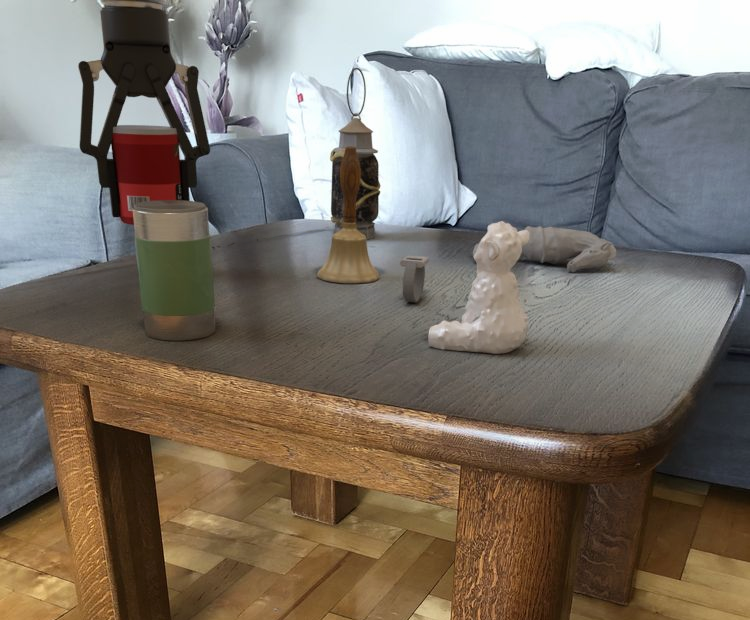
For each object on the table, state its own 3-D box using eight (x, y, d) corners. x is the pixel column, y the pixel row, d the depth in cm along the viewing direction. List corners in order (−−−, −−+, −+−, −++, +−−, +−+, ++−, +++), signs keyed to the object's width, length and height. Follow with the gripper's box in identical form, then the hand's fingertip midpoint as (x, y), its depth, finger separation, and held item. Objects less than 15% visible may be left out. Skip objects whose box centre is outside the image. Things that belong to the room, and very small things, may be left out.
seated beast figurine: (475, 328, 87) (485, 210, 82) (547, 344, 83) (562, 220, 77) (422, 346, 81) (429, 219, 75) (497, 365, 76) (510, 231, 71)
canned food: (193, 224, 103) (187, 128, 98) (131, 227, 99) (122, 128, 94) (170, 215, 109) (163, 125, 104) (110, 218, 105) (100, 124, 100)
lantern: (344, 230, 141) (345, 67, 130) (387, 235, 139) (392, 68, 127) (321, 238, 134) (321, 66, 123) (366, 243, 131) (370, 67, 120)
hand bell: (391, 276, 109) (396, 147, 102) (354, 287, 103) (356, 150, 96) (343, 268, 114) (343, 143, 106) (304, 277, 108) (302, 145, 100)
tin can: (129, 331, 83) (115, 204, 77) (184, 318, 88) (174, 197, 82) (176, 345, 79) (164, 212, 73) (231, 330, 84) (224, 205, 79)
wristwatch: (407, 294, 100) (409, 252, 98) (429, 296, 100) (431, 254, 98) (395, 306, 95) (396, 262, 93) (418, 308, 94) (420, 264, 92)
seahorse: (479, 264, 113) (624, 245, 112) (467, 222, 120) (603, 204, 120) (479, 296, 116) (620, 278, 116) (468, 253, 124) (600, 236, 124)
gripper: (35, -3, 87) (64, 220, 97) (230, 10, 94) (238, 218, 104) (36, 2, 93) (63, 212, 104) (219, 14, 100) (227, 210, 110)
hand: (151, 215), depth 104 cm, fingers closed on canned food, 8 cm apart
